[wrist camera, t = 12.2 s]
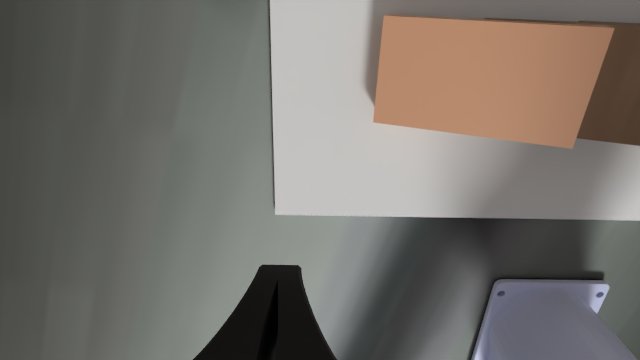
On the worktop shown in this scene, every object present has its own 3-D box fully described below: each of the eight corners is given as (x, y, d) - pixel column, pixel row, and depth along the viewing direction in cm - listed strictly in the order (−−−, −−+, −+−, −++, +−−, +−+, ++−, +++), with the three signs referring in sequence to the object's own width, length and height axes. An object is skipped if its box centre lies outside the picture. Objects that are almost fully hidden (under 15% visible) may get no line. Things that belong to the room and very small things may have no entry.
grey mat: (739, 218, 25) (745, 222, 24) (275, 211, 24) (275, 214, 23) (917, -76, 18) (929, -77, 17) (267, -102, 17) (267, -104, 16)
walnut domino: (484, 17, 19) (709, 27, 16) (464, 116, 21) (660, 139, 18) (486, 19, 17) (732, 30, 15) (464, 124, 20) (675, 150, 17)
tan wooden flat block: (389, 14, 19) (602, 25, 16) (379, 114, 21) (564, 137, 18) (383, 15, 17) (614, 28, 15) (373, 122, 19) (572, 148, 17)
